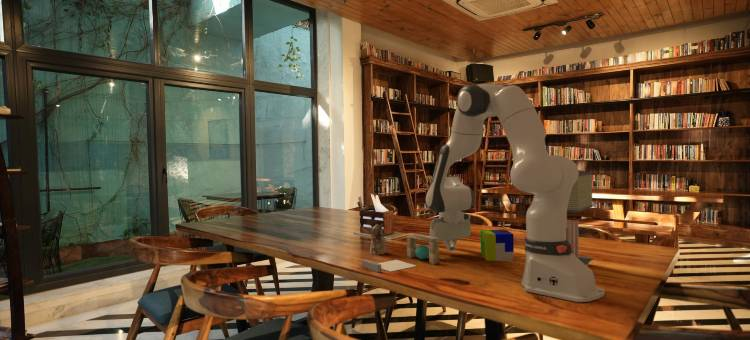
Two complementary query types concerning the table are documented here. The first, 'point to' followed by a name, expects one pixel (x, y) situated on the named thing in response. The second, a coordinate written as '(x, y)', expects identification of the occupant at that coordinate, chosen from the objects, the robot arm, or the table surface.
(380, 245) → the figurine
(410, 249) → the bridge
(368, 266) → the stopper strip
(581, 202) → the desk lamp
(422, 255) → the ball
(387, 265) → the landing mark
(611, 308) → the table surface
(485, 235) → the puzzle toy
